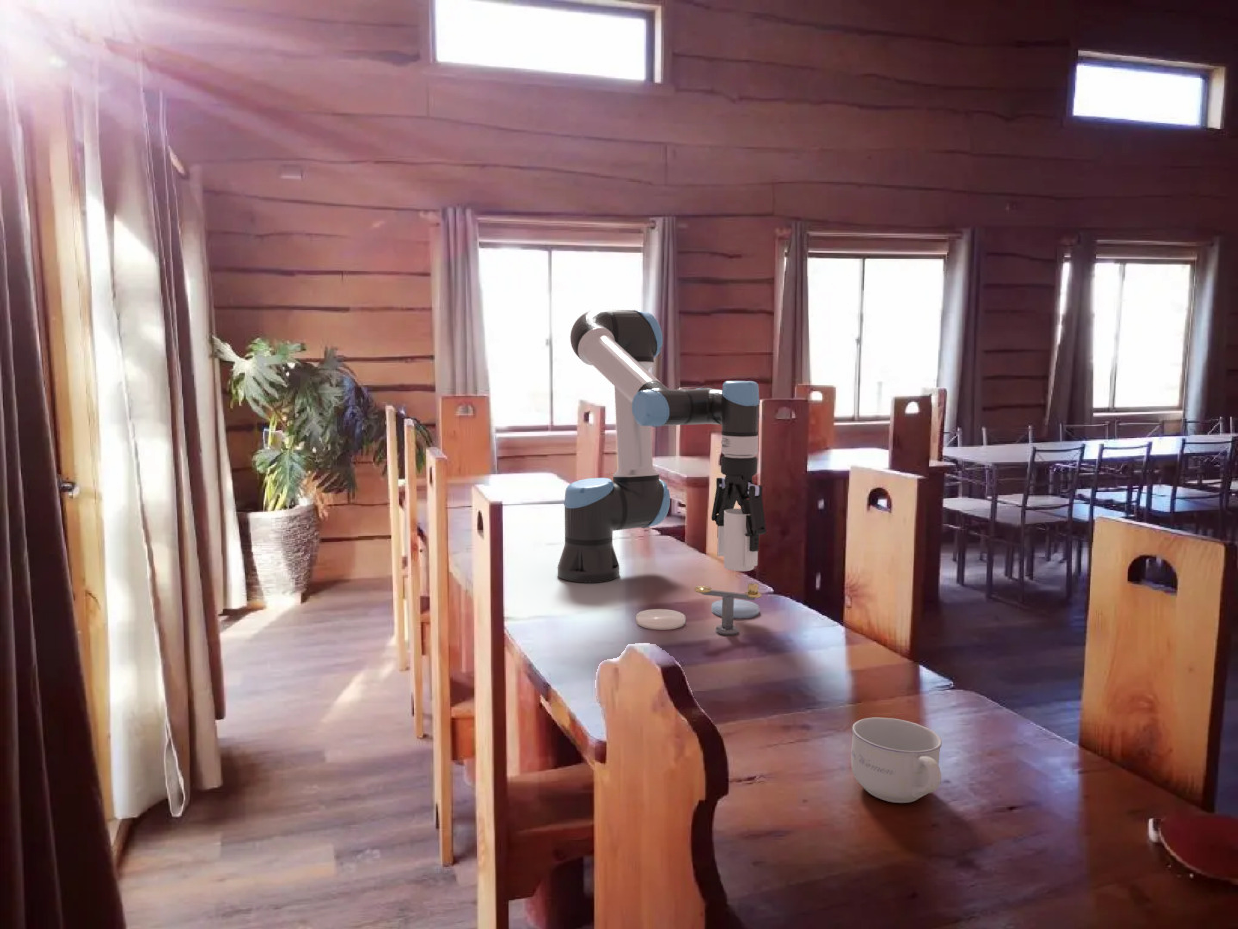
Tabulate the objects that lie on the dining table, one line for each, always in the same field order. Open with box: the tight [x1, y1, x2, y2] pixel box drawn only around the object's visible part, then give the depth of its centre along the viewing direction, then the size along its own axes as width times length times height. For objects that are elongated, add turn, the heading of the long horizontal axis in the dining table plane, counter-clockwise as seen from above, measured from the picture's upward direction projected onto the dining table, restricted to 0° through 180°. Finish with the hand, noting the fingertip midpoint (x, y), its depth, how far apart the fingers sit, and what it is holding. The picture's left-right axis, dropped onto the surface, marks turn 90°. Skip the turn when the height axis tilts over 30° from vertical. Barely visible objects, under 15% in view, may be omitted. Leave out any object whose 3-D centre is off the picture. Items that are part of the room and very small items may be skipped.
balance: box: [694, 582, 762, 637], centre depth 175 cm, size 4×15×10 cm, turn 116°
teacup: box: [850, 716, 943, 804], centre depth 111 cm, size 14×11×8 cm
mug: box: [723, 508, 755, 572], centre depth 187 cm, size 10×7×12 cm, turn 10°
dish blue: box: [711, 598, 760, 619], centre depth 189 cm, size 10×10×1 cm
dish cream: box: [635, 608, 686, 631], centre depth 181 cm, size 10×10×1 cm
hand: (736, 560), depth 188 cm, fingers closed on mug, 10 cm apart
